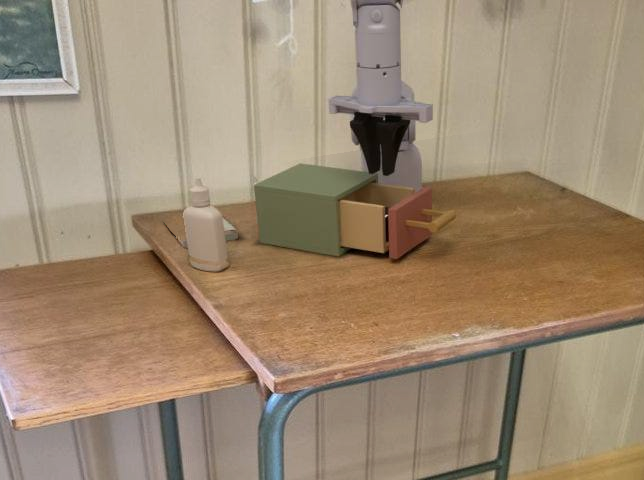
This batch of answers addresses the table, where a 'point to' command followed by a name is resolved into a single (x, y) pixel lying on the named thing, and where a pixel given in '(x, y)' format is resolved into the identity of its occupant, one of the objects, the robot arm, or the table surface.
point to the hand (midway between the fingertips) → (381, 173)
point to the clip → (386, 223)
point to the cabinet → (306, 207)
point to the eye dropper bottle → (204, 230)
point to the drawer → (403, 217)
